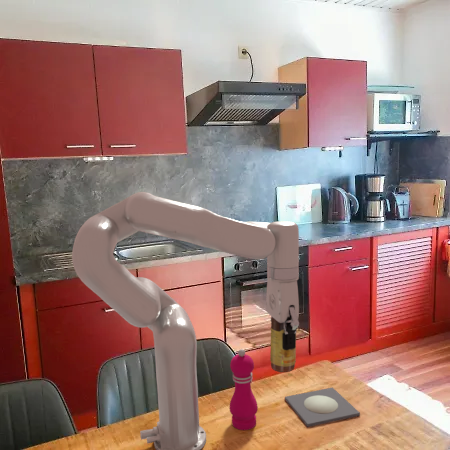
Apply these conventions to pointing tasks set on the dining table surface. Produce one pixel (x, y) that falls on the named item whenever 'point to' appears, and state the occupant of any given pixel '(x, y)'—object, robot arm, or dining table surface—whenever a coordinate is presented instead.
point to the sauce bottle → (280, 349)
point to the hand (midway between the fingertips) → (283, 342)
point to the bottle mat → (321, 406)
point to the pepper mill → (243, 392)
